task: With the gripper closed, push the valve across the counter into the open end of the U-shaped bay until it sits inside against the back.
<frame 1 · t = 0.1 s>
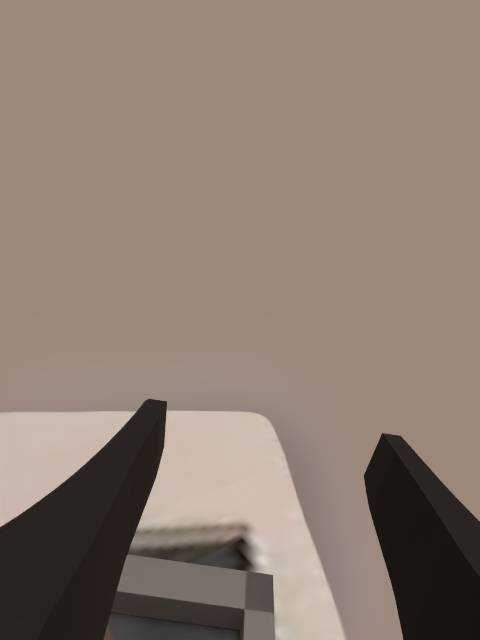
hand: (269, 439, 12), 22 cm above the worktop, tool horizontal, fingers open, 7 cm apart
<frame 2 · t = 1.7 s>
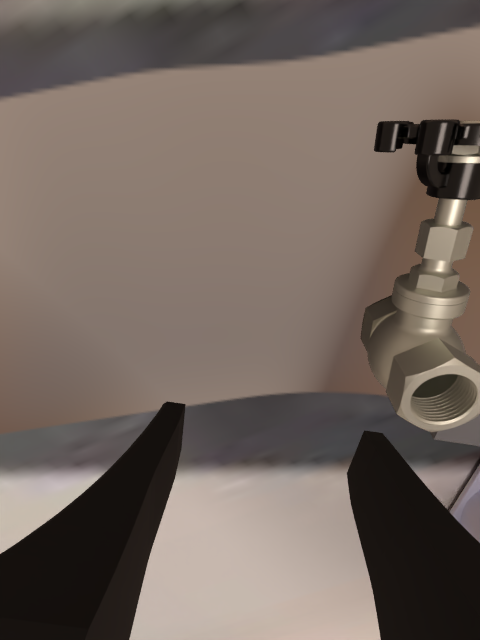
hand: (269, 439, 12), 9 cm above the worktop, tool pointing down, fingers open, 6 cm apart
valve: (405, 254, 19), on the worktop
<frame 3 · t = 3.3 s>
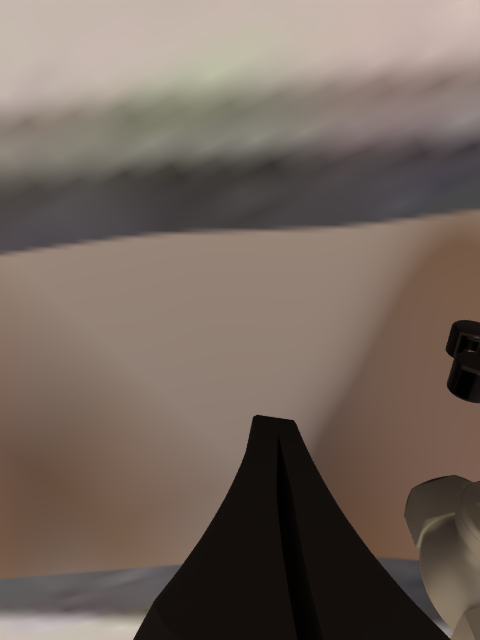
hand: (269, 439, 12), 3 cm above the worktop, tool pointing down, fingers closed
valve: (462, 435, 15), on the worktop
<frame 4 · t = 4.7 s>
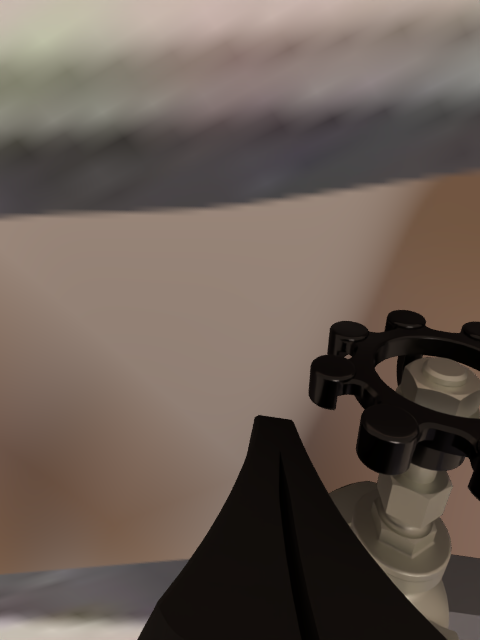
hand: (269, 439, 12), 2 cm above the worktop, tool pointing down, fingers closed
valve: (372, 440, 15), on the worktop, touching gripper
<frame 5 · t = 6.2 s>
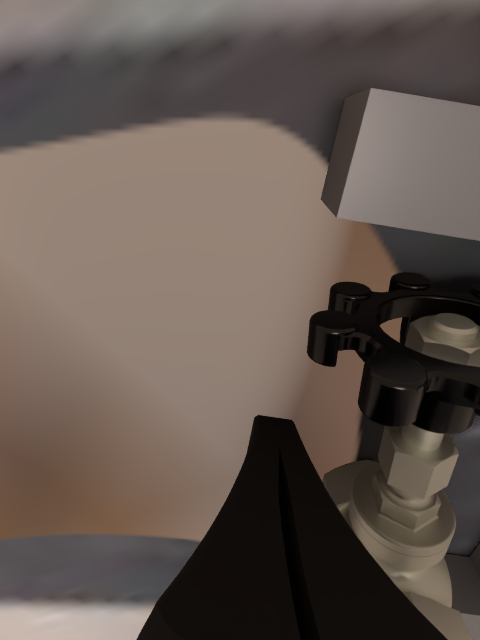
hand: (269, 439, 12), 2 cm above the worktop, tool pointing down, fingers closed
chassis bay: (426, 425, 14), on the worktop
valve: (373, 416, 14), on the worktop, touching gripper
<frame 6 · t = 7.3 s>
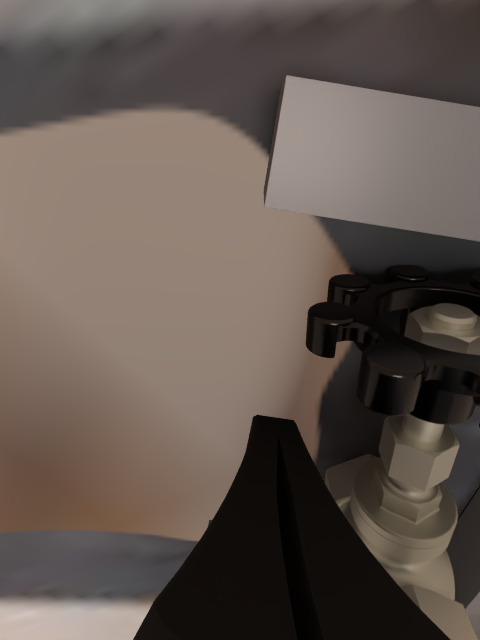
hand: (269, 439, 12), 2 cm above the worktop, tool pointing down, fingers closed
chassis bay: (385, 419, 14), on the worktop
valve: (374, 410, 14), on the worktop
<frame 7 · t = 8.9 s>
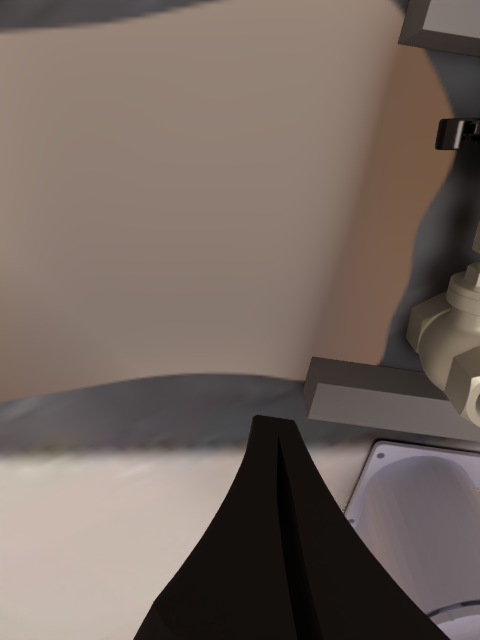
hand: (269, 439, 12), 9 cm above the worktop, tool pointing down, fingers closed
chassis bay: (465, 248, 18), on the worktop
valve: (452, 251, 19), on the worktop
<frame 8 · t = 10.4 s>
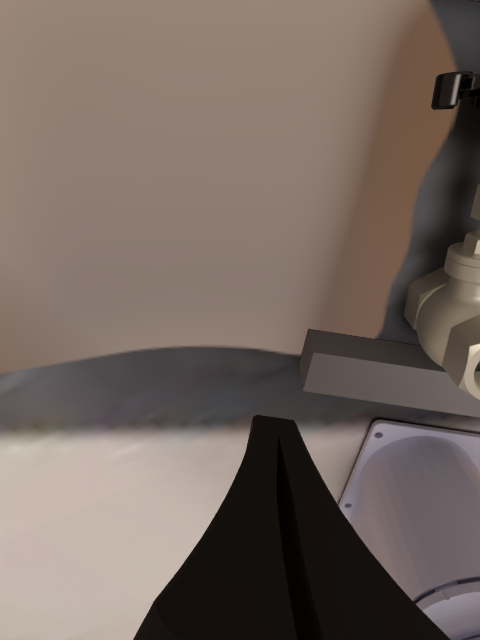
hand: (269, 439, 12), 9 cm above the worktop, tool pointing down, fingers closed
chassis bay: (467, 211, 18), on the worktop
valve: (451, 224, 18), on the worktop
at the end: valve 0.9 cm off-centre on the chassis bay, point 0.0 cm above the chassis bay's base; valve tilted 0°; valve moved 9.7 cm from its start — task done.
